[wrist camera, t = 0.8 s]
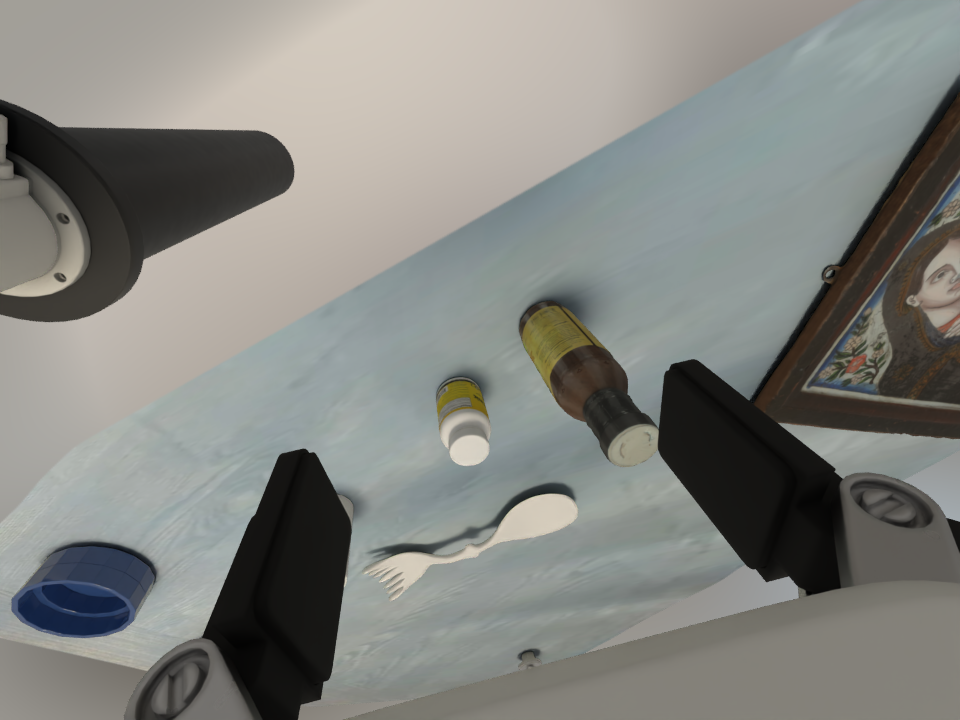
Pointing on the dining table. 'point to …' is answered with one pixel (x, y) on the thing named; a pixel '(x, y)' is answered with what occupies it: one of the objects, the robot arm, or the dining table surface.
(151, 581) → the bowl
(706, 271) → the dining table surface
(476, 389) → the supplement bottle
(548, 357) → the sauce bottle
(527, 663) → the screw
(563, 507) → the cream back scratcher
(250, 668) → the robot arm
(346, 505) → the white cylindrical cup
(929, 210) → the religious icon
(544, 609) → the dining table surface
